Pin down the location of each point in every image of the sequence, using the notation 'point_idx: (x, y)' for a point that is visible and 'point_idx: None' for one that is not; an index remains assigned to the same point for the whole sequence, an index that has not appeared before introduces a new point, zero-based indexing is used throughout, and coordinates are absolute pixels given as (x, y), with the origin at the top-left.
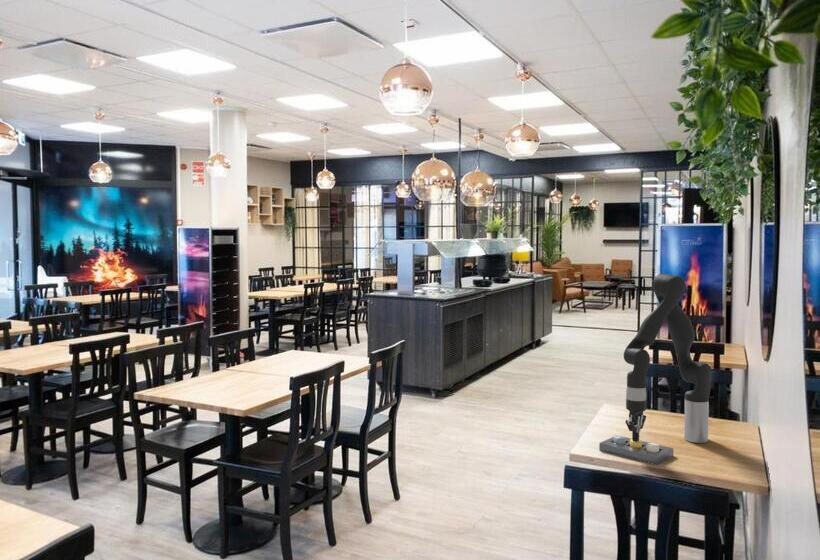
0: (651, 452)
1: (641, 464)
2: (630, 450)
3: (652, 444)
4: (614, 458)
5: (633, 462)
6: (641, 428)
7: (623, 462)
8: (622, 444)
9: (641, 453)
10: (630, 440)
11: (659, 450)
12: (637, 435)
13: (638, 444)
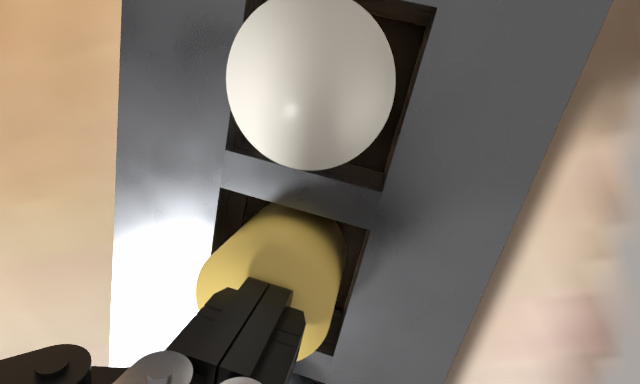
0: (444, 72)
1: (597, 139)
2: (476, 301)
3: (278, 97)
4: (512, 368)
5: (561, 218)
6: (78, 365)
7: (598, 294)
8: None
9: (533, 176)
10: None
11: None
12: (268, 342)
13: (319, 259)
